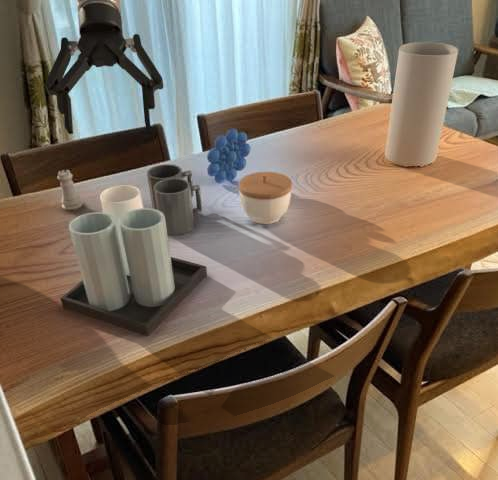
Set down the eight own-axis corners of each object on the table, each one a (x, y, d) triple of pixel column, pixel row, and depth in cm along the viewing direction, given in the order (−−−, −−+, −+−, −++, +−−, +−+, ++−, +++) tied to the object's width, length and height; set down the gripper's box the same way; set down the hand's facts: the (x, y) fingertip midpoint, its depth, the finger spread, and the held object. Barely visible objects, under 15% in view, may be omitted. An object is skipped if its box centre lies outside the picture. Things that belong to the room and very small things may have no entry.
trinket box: (284, 202, 118) (285, 161, 112) (296, 226, 109) (297, 183, 104) (236, 207, 116) (234, 166, 110) (244, 232, 108) (242, 189, 102)
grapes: (240, 168, 132) (238, 119, 125) (256, 177, 128) (255, 127, 120) (199, 180, 127) (195, 130, 120) (214, 191, 123) (210, 139, 115)
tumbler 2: (126, 302, 91) (109, 224, 82) (150, 281, 96) (136, 204, 86) (160, 313, 89) (147, 233, 79) (183, 291, 93) (173, 213, 84)
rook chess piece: (72, 213, 117) (63, 178, 111) (58, 208, 118) (48, 173, 113) (87, 204, 119) (79, 170, 114) (73, 200, 121) (64, 166, 116)
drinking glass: (108, 269, 98) (91, 193, 89) (139, 255, 102) (126, 180, 92) (129, 284, 94) (113, 207, 85) (160, 269, 98) (148, 193, 88)
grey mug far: (162, 222, 112) (156, 181, 107) (147, 209, 117) (141, 170, 111) (202, 209, 116) (198, 169, 111) (186, 197, 121) (182, 158, 115)
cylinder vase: (440, 153, 136) (463, 44, 120) (429, 172, 128) (451, 58, 112) (392, 145, 141) (407, 40, 125) (378, 163, 132) (392, 52, 117)
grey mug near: (169, 239, 107) (163, 197, 101) (153, 224, 112) (147, 184, 106) (210, 225, 111) (207, 184, 105) (194, 211, 116) (190, 172, 110)
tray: (62, 307, 91) (59, 298, 89) (128, 253, 103) (127, 244, 102) (148, 336, 84) (146, 326, 83) (207, 275, 97) (206, 266, 96)
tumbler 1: (81, 307, 91) (58, 228, 81) (107, 285, 95) (88, 208, 86) (114, 318, 88) (95, 238, 79) (138, 295, 93) (123, 217, 83)
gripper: (171, 24, 101) (181, 133, 99) (35, 31, 99) (42, 141, 97) (168, -4, 94) (178, 113, 91) (20, 3, 91) (28, 122, 89)
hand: (108, 128), depth 94 cm, fingers open, 13 cm apart
